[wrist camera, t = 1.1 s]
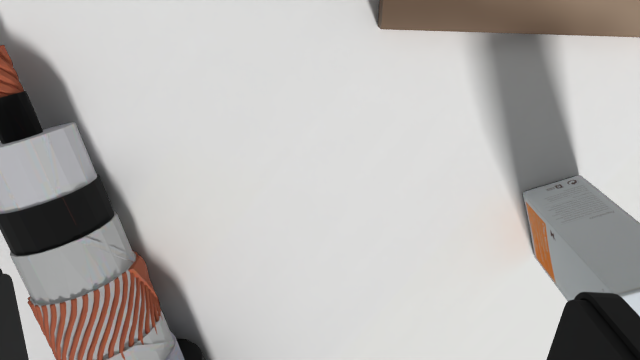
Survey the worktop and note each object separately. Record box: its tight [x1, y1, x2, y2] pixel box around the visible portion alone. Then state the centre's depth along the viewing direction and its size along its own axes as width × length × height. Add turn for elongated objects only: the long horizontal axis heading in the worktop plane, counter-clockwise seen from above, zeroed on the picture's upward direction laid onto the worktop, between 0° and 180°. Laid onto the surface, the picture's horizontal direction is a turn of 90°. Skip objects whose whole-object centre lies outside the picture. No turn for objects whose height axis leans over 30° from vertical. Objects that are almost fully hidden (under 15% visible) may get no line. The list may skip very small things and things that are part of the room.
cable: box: [0, 45, 205, 360], centre depth 33 cm, size 10×34×10 cm
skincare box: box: [523, 175, 640, 316], centre depth 31 cm, size 6×4×12 cm
